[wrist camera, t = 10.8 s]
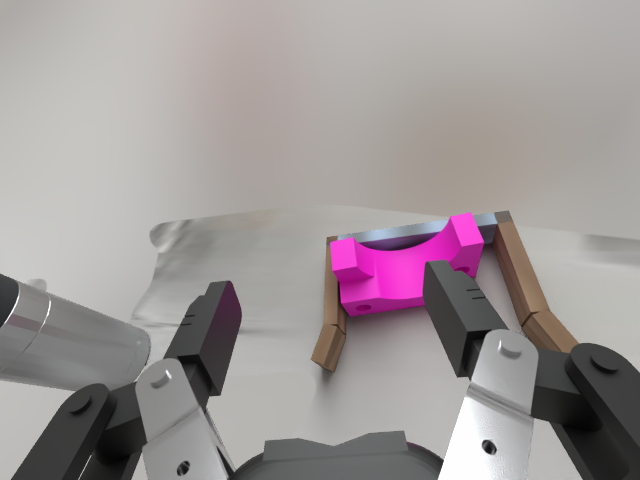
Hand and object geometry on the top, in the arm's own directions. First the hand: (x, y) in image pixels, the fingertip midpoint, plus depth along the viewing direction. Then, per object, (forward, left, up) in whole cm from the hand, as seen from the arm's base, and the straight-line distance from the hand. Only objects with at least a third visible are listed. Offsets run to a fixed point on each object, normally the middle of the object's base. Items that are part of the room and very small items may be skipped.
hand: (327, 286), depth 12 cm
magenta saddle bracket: (+3, +11, -24) cm, 26 cm away
